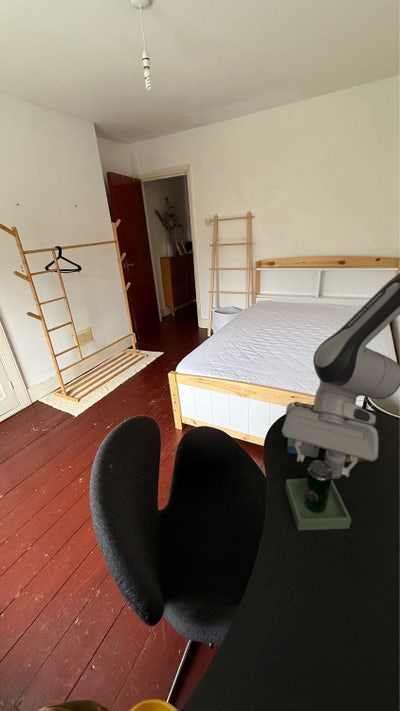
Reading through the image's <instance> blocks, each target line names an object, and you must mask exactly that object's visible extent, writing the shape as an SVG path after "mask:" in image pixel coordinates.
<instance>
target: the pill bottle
mask: <svg viewBox="0 0 400 711" xmlns="http://www.w3.org/2000/svg"><path fill="white" fill-rule="evenodd" d="M323 460H324V461H323V462H325V463H326V464H328V465H329V467H330V469H331V472H332V479H340V478H342V477H343V476H342V475H341V473H342V472H343V471H342V468H343V467H344V468H345V463H346V462H345V454H342V453H338V452H335V451H331V450H328V449H326V450H325V453H324V459H323Z"/></svg>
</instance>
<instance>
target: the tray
mask: <svg viewBox="0 0 400 711" xmlns="http://www.w3.org/2000/svg"><path fill="white" fill-rule="evenodd" d="M305 486H306V478H289V479H285V489H284V490H285V491H286V495H287V500H288V502H289V505H290V509H291V512H292V516H293V519H294V522H295V527H296V529H297V531H318V530H349V529H350V528H351V527H350V526H351V522H352V518H351V516H350V514H349V512H348V509H347V507H346V505H345V503H344V501H343V499H342V496H341V495H340V492H339V491H338V489H337V486H336V485H335V483H334V480H333V478H332V479H331V485H330V490H329V496H328V502H327V508H326V510H325V511H324V512H322V513H314V512H312V511H310V510H309V509H308V508H307V507H306V506H305V504H304V495H305Z"/></svg>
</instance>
